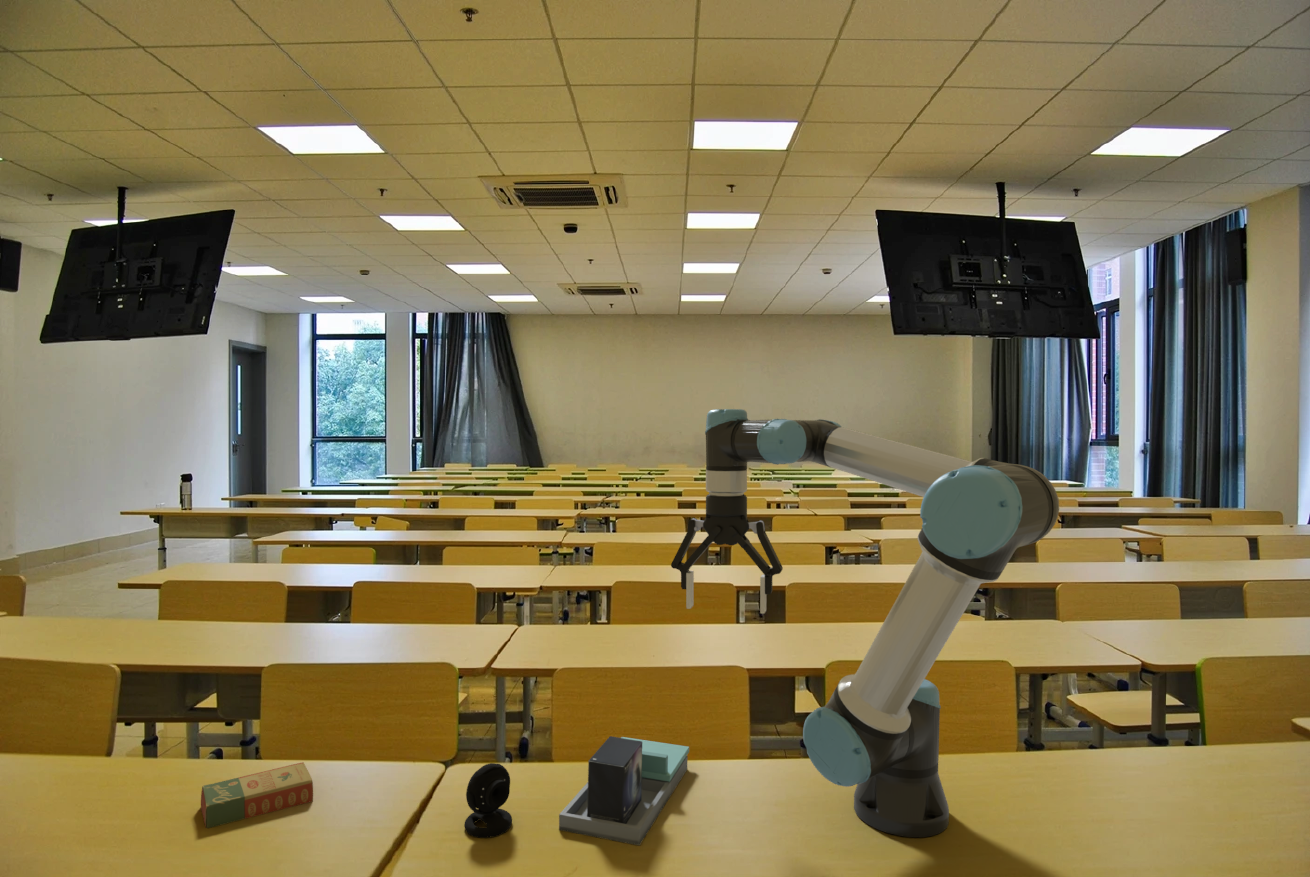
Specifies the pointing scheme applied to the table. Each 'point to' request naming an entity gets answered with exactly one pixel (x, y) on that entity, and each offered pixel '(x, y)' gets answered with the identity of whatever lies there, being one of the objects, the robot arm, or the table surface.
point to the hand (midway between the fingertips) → (726, 609)
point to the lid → (661, 759)
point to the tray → (638, 823)
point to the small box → (615, 780)
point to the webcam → (488, 801)
